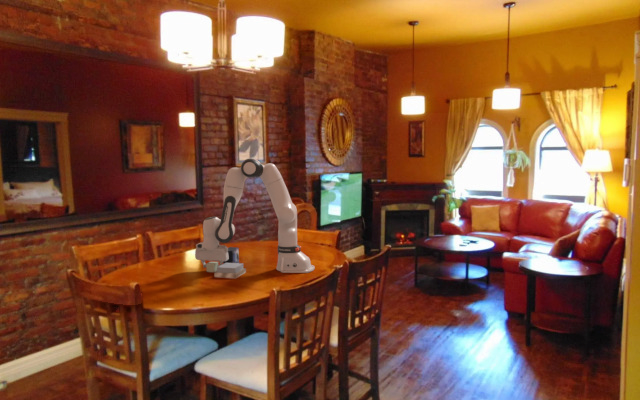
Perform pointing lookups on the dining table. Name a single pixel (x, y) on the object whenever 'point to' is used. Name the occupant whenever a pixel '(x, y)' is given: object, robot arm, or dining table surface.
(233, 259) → the small box
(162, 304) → the dining table surface
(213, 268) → the beige block
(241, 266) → the top slab
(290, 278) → the dining table surface
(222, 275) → the bottom slab
